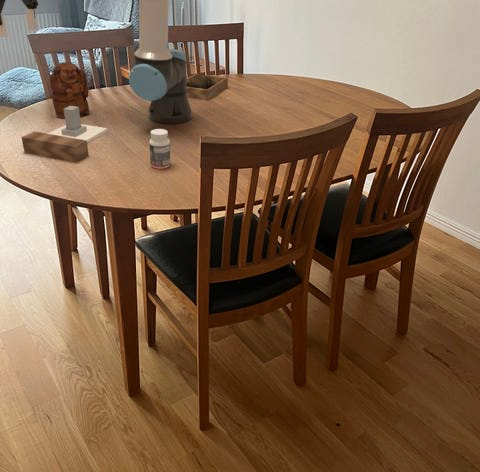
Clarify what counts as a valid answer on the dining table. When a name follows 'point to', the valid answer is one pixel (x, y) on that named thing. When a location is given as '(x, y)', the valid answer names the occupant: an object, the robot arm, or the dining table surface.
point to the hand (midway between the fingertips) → (18, 33)
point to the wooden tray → (209, 93)
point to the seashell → (200, 82)
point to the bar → (55, 146)
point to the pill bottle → (160, 149)
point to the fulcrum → (77, 127)
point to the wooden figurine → (69, 89)
